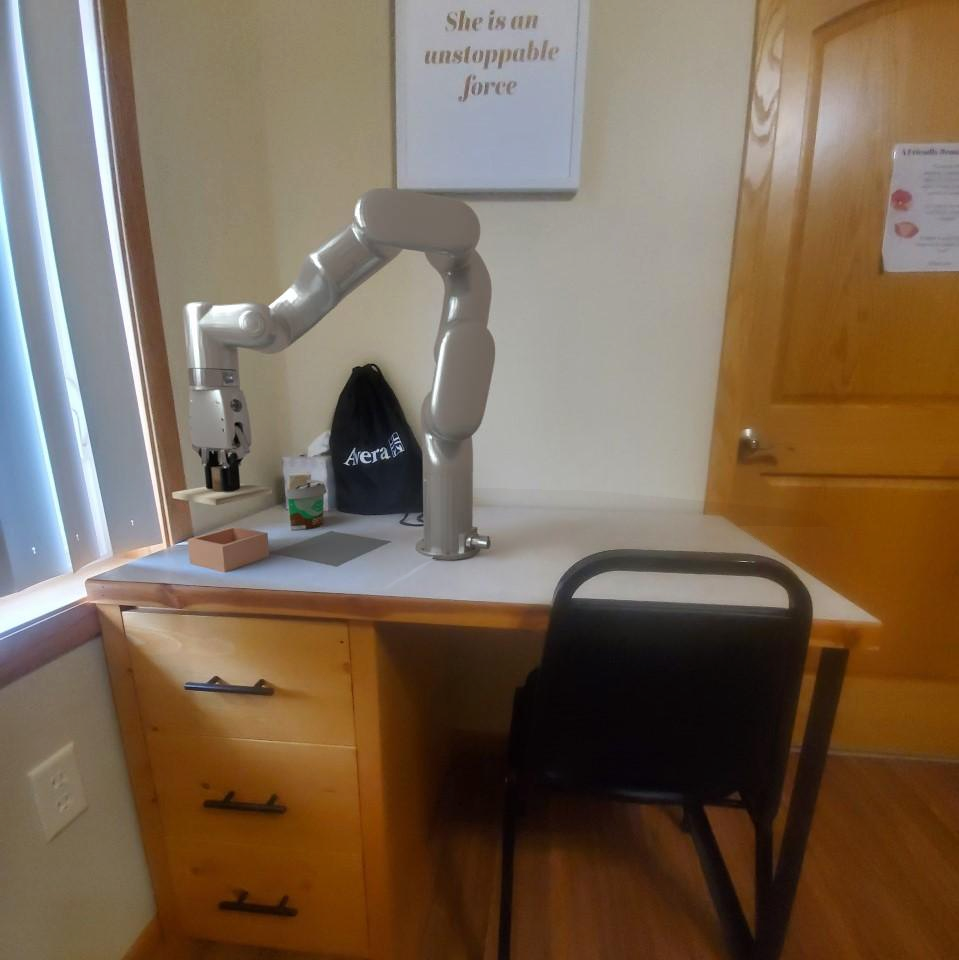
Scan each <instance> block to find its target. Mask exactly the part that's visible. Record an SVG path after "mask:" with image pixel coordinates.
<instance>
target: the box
mask: <svg viewBox="0 0 959 960" xmlns="http://www.w3.org/2000/svg"><path fill="white" fill-rule="evenodd" d="M286 480H287V481H286V482H287V483H286V484H287V489H296V488H297V487H298V486H303V485H305V484H307V480H312V475H311V473H310V472H309V471H296V472H295V471H294V472H286ZM287 509H288V510H287V512H288V513H287V514H288V518H289V519H290V513H289V504H288V503H287Z"/></svg>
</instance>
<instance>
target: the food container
mask: <svg viewBox="0 0 959 960" xmlns="http://www.w3.org/2000/svg"><path fill="white" fill-rule="evenodd" d="M326 493H328V492H327V486H326V484H325V483H324V481H322V480H317V479H311V480H307V484H305V485H303V486H298V487H297V488H296V489H288V488H286V500H287V505H288V504H289V513H290V518H289V520H290V530H291V531H292V532H293V531H295V532H296V531H307V530H313V529H316V528H319V527H321V526H323V524H324V501H325V499H324V498H325V497H324V496H325V494H326Z"/></svg>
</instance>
